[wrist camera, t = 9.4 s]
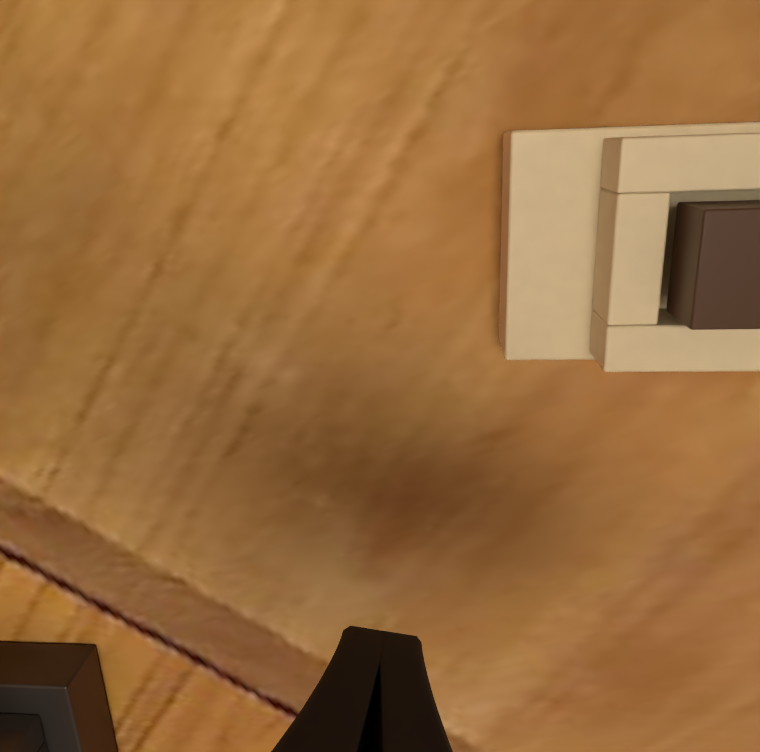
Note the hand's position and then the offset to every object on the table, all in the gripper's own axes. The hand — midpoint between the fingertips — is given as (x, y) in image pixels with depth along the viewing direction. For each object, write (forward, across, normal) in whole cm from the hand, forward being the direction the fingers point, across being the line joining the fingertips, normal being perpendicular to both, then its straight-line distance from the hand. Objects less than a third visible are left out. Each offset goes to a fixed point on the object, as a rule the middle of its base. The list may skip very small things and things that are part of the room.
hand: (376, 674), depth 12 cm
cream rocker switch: (+10, -7, -8) cm, 15 cm away
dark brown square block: (+7, -7, -7) cm, 12 cm away
